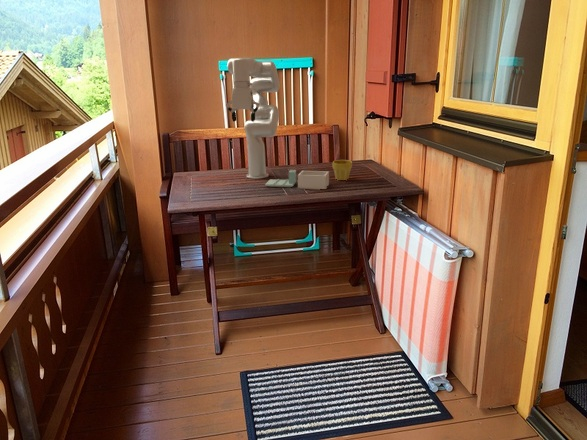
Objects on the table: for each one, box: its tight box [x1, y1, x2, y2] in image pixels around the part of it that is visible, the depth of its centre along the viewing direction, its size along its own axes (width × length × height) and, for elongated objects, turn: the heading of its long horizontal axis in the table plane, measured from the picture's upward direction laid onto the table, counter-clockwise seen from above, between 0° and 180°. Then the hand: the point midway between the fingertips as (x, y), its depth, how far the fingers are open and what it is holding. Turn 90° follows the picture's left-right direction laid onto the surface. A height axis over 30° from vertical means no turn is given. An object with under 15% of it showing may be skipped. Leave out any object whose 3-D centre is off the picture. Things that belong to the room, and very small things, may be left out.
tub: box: [297, 170, 330, 190], centre depth 233 cm, size 10×14×7 cm
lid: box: [264, 169, 297, 188], centre depth 238 cm, size 10×15×8 cm
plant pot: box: [331, 159, 353, 181], centre depth 245 cm, size 10×10×10 cm
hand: (243, 121), depth 227 cm, fingers open, 9 cm apart
